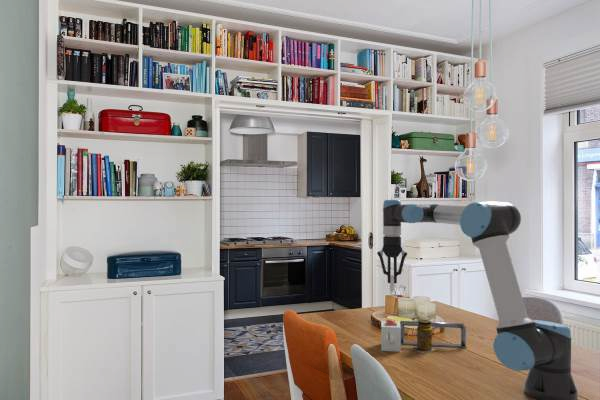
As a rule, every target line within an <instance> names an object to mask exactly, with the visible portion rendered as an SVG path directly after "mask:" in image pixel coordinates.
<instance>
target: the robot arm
mask: <svg viewBox="0 0 600 400" xmlns="http://www.w3.org/2000/svg"><path fill="white" fill-rule="evenodd" d="M382 205H383V207H382V213H383V215H382V216H383V217H382V219H383V220H382V221H383V222H382V223H383V224H382V228H383V229H382V235H383V237H382V241H383V242H382V248H381V250H378V251H377V255H378V257H379V261H380V263H381V268H382V269H381V270H382V273H383V274H384V275H385V276H387V284H390V289H389V291H390V292H393V293H394V292H395V284H397V283H398V282H397V280H398V277H397V276H399V275H401V274H402V272H403V267H404V264H405V259H406V257H407V256H408V253H407V251H404V250H403V247H402V237H401V235H402V223H408V224H416V223H418V224H419V223H433V224H434V223H435V224H437V223H438V224H448V225H449V224H450V225H457V226H458V225H459V226H460V229H461V231H462V232H463V234H464V235H466V236H467V237H469V238H471V241H472V245H473V246H474V247H476V248H478V249H479V254H480V257H481V259H482V260H481V261H482V264H483V268H484V271H485V275H486V278H487V281H488V286H489V290H490V292H491V296H492V299H493V303H494V307H495V310H496V314H497V318H498V323H497V325H496V326H495V329H496V333H497V335H495V337H494V339H493V340H494V341H493V343H492V347H493V352H494V354H495V357H496V359H497V360H499V362H500V363H501V364H502V365H503V366H504V367H506V368H507V369H509V370H510V371H513V372H520V371H521V372H522V371H528V373H527V376H526V379H525V382H524V392H525V394H527V395H528V396H530V397H532V398H534V399H537V400H578V389H577V386H576V383H575V381H574V378H573V375H572V333H571V328H570V327H568V326H566V325H565V324H562V323H557V322H554V321H553V322H552V321H548V320H547V321H546V320H541V319H540V320H537V319H532V318H531V317H530V316H528V313H527V308H526V305H525V302H524V298H523V295H522V292H521V288H520V286H519V283H518V279H517V275H516V272H515V269H514V265H513V262H512V258H511V255H510V252H509V248H508V244H507V242H508V240H509V238H510V235H511V234H513V233H515V232H516V231H517V230H518V229H519V228H520V225H521V222H522V221H521V220H522V216H521V213H520V211H519V209H518V208H517V207H516V206H515V205H514V204H512V203H510V202H507V201H505V202H504V201H484V200H482V201H477V202H476V201H475V202H471V203H469V204H467V205H452V204H451V205H449V204H437V203H436V204H434V203H433V204H417V203H416V204H414V203H409V204H408V203H407V204H406V203H405V204H402V201H401V200H400V199H386V200H385V199H384V201H383V204H382ZM400 254H401V258H400V263H399V267H398V265H397V264H398V261H397V260H398V257H399V256H400ZM383 255H384V256H386V257H387V270H386V267H385V262H384V258H383ZM391 258H393V274H392V273H391V269H392V267H391V265H392V264H391V262H392V261H391V260H392V259H391ZM397 268H398V269H397ZM397 270H398V271H397Z"/></svg>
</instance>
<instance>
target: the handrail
mask: <svg viewBox="0 0 600 400" xmlns="http://www.w3.org/2000/svg"><path fill="white" fill-rule="evenodd" d="M418 321H419V320H418ZM418 321H416V320H415V321H413V320H400V321H399V322H400V326H401V345H404V346H417V341H405V326H408V327H418ZM430 322H431V328H452V329H460V343H445V342H444V343H443V342H432V347H440V348H441V347H443V348H444V347H446V348H463V349H467V326H466V325H464V323H462V322H461V323H460V322H458V323H457V322H440V321H439V322H438V321H430Z"/></svg>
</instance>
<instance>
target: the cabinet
mask: <svg viewBox="0 0 600 400" xmlns="http://www.w3.org/2000/svg"><path fill="white" fill-rule="evenodd" d="M380 327H381V331H380V332H381V333H380V334H381V335H380V336H381V340H380V341H381V343H380V344H381V345H380V351H381V352H399V353H401V351H402V350H401V349H402V347H401V326H400V321H395V326H386V320H381V324H380Z"/></svg>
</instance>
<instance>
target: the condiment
mask: <svg viewBox="0 0 600 400" xmlns="http://www.w3.org/2000/svg"><path fill="white" fill-rule="evenodd" d="M431 322H432V321H430V320H428V319H419V320H418V326H416V328H417V329H416V332H417V333H416V334H417V335H416V339H417V340H416V342H417V345H416V346H414V347H410V348H409V349H410V350H412V351H414V352H415V351H416V352H418V353H420V354H425V353H429V352H433V351H436V350H437V349H435V348H433V346H432V343H433V329H432V328H433V327H431Z"/></svg>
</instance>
